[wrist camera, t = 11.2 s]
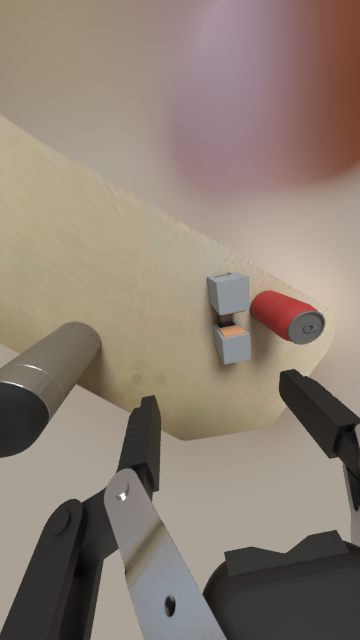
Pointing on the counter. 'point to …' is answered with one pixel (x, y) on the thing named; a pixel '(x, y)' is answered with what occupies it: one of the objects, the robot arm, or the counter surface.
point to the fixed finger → (229, 293)
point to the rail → (225, 318)
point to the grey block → (232, 343)
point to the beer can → (288, 317)
